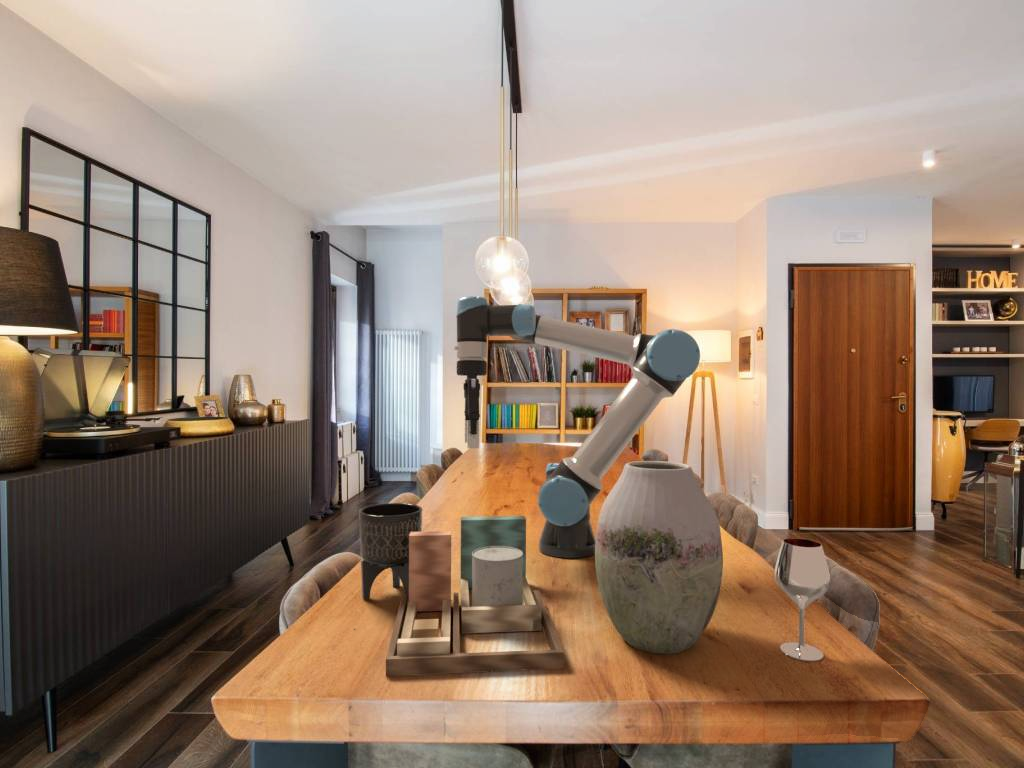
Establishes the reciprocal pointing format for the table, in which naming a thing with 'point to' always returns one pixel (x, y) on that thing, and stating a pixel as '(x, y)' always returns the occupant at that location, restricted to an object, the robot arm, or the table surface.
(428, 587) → the cube sled
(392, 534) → the planter
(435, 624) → the oak cube
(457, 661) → the guide frame
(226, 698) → the table surface
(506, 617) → the can sled
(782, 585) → the wineglass
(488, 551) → the speckled stone cylinder
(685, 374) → the robot arm
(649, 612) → the vase
